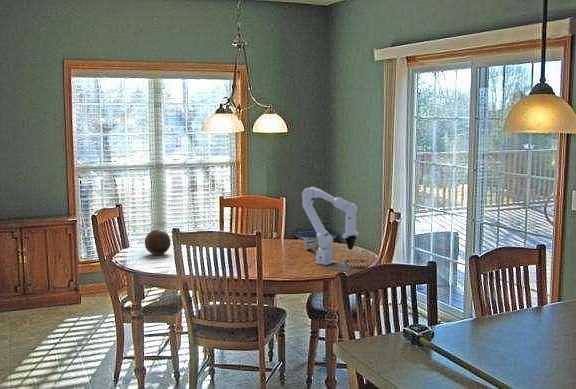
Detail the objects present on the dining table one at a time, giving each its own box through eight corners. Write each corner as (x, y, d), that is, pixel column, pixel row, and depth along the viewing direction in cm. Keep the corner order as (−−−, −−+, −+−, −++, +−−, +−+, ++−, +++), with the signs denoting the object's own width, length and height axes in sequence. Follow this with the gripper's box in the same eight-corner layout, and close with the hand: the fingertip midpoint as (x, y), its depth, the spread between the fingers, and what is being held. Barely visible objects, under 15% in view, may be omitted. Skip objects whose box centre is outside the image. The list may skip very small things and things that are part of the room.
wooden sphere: (175, 254, 395) (175, 229, 393) (158, 258, 383) (157, 232, 381) (157, 251, 403) (157, 226, 402) (139, 255, 391) (139, 230, 389)
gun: (310, 263, 412) (307, 240, 416) (324, 256, 390) (321, 231, 393) (305, 263, 411) (302, 240, 415) (319, 256, 389) (316, 231, 392)
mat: (345, 271, 354) (345, 270, 354) (326, 268, 361) (326, 267, 361) (360, 265, 368) (360, 265, 368) (342, 263, 375) (342, 262, 375)
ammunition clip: (363, 259, 373) (368, 265, 361) (363, 263, 373) (367, 268, 361) (345, 259, 372) (348, 265, 360) (344, 263, 372) (348, 268, 360)
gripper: (350, 227, 359) (350, 252, 361) (363, 224, 371) (362, 248, 373) (339, 226, 363) (338, 250, 365) (352, 223, 375) (351, 246, 377)
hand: (350, 249), depth 369 cm, fingers closed
